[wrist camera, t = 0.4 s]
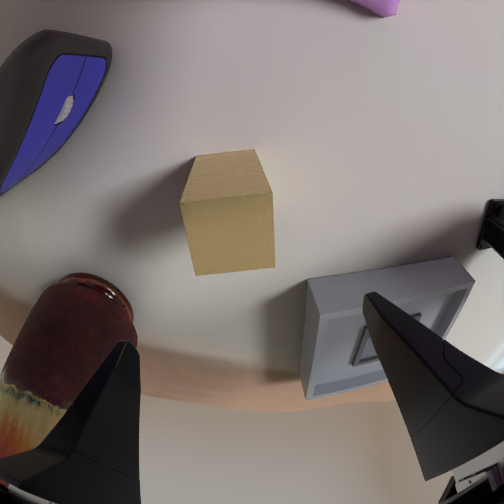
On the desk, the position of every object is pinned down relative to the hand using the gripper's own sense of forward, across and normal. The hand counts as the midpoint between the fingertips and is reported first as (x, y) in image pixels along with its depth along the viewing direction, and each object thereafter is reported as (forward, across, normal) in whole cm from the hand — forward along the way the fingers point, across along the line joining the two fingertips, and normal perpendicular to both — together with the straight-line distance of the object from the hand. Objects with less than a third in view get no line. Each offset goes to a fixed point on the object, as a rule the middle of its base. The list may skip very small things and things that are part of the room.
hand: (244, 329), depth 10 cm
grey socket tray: (+12, -13, +19) cm, 26 cm away
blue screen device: (+13, +13, -11) cm, 21 cm away
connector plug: (+13, 0, -1) cm, 13 cm away
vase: (+13, +17, +8) cm, 23 cm away
